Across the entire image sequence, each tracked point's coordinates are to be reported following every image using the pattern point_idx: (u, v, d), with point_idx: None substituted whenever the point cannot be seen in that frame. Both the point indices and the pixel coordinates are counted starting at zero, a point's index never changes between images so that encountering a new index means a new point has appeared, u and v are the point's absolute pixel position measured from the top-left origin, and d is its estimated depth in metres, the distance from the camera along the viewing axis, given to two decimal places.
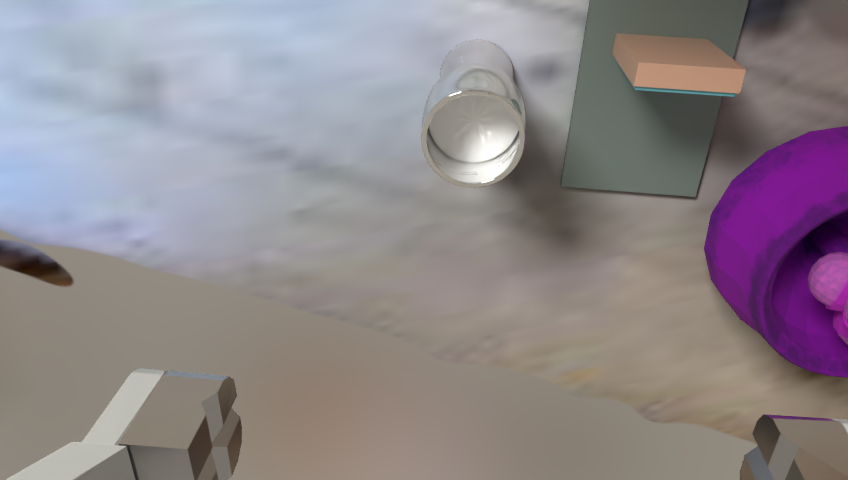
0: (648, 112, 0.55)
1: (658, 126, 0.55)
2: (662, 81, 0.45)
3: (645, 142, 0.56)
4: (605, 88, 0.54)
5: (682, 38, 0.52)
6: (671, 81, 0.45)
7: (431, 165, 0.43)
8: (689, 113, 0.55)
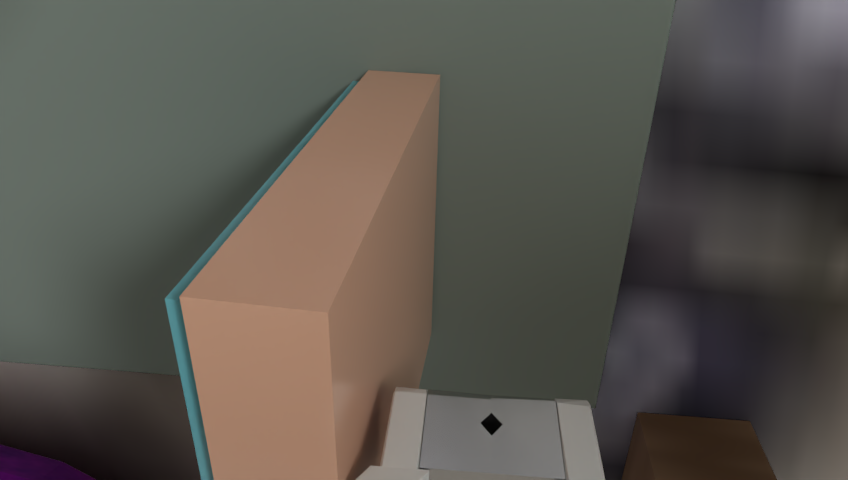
0: (194, 210, 0.17)
1: (157, 243, 0.18)
2: (239, 429, 0.08)
3: (98, 214, 0.17)
4: (245, 61, 0.15)
5: (431, 276, 0.17)
6: (248, 464, 0.08)
7: None
8: None
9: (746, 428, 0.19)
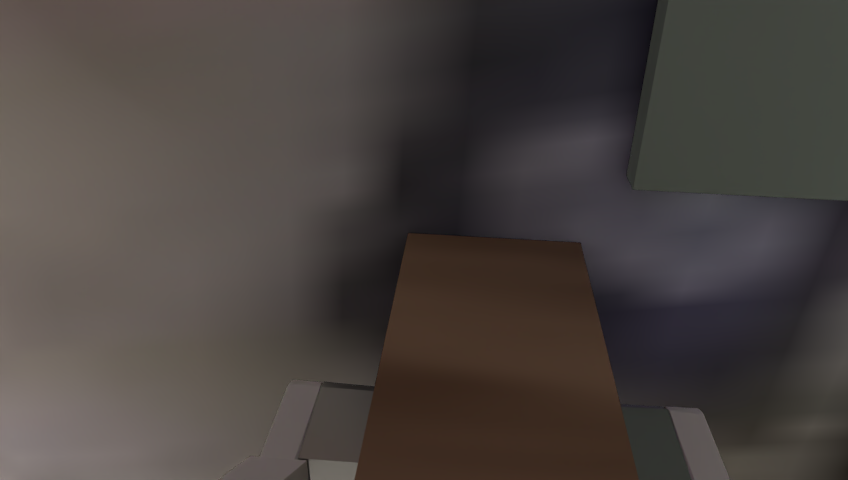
0: None
1: None
2: None
3: None
4: None
5: None
6: None
7: None
8: None
9: None
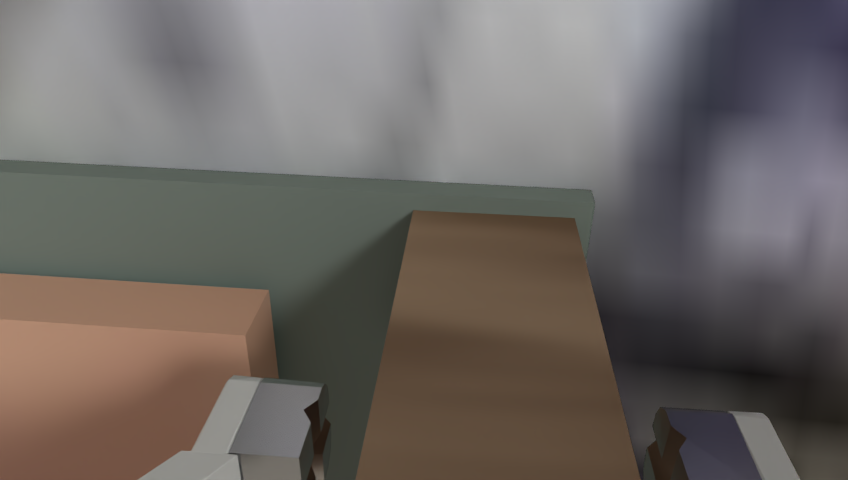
0: None
1: None
2: None
3: None
4: (161, 273, 0.15)
5: None
6: None
7: None
8: None
9: None
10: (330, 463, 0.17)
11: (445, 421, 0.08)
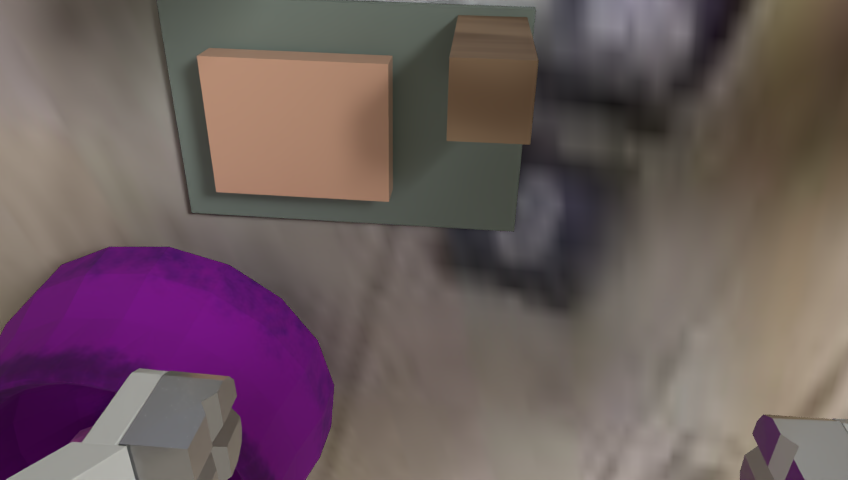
0: None
1: None
2: None
3: None
4: (342, 50, 0.32)
5: (382, 165, 0.33)
6: None
7: None
8: None
9: None
10: (412, 159, 0.35)
11: (476, 44, 0.26)
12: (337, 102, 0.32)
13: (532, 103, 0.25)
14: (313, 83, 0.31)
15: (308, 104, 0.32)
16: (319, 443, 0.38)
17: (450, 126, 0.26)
